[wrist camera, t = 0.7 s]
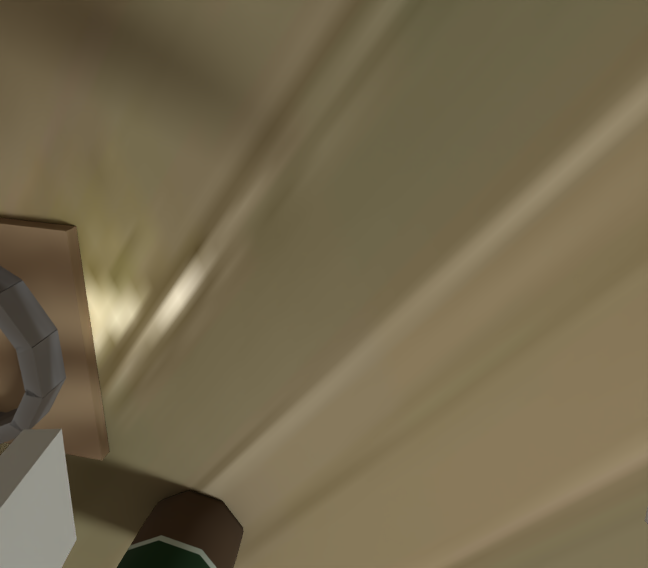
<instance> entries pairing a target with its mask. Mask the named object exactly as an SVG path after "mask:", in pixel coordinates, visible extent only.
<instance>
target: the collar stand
mask: <svg viewBox="0 0 648 568" xmlns="http://www.w3.org/2000/svg"><path fill="white" fill-rule="evenodd" d="M24 429H62V435H63V443H64V450H65V454H69V455H75V456H80V457H86V458H91V459H97V460H103V459H104V458H105V457H106V455H107V454H108V453H109V452H110V451H109V444H108V437H107V431H106V424H105V417H104V411H103V404H102V397H101V390H100V384H99V377H98V370H97V363H96V357H95V350H94V343H93V336H92V330H91V323H90V316H89V310H88V303H87V296H86V289H85V283H84V276H83V269H82V262H81V256H80V249H79V242H78V236H77V229H76V226H69V225H60V224H51V223H42V222H33V221H24V220H16V219H7V218H0V444H1V443H9V444H11V443H12V442H13V441H14V440H15V438H16V437H17V436H18V435H19V434H20V433H21V432H22V431H23V430H24Z"/></svg>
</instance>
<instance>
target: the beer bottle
mask: <svg viewBox="0 0 648 568" xmlns="http://www.w3.org/2000/svg"><path fill="white" fill-rule="evenodd" d="M242 535H243V527H242V526H241V525H240V523H239V522H238V521H237V519H236V518H235V517H234V515H233V514H232V513H231V511H230V510H229V509H228V508H227V506H226V505H225V504H224V502H222V501H219V500H216V499H213V498H210V497H208V496H205V495H202V494H199V493H196V492H193V491H190V490H189V491H186V492H183V493H180V494H177V495H175V496H172V497H169V498H166V499H163V500H161V501H160V502H158V504H157V505H156V506H155V508H154V509H153V511H152V512H151V514H150V515H149V516H148V518H147V519H146V521H145V522H144V524H143V526H142V527H141V529H140V531H139V532H138V534H137V536H136V537H135V539H134V540H133V542H132V544H131V545H130V547H129V549H128V550H127V552H126V553H125V555H124V557H123V558H122V560H121V562H120V563H119V565H118V566H117V568H233V567H234V564H235V561H236V558H237V554H238V550H239V547H240V543H241V539H242Z"/></svg>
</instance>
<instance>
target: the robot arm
mask: <svg viewBox="0 0 648 568" xmlns="http://www.w3.org/2000/svg"><path fill="white" fill-rule="evenodd" d="M645 522H646V523H647V524H648V508H647V512H646V517H645ZM75 541H76V532H75V525H74V517H73V510H72V502H71V495H70V487H69V480H68V472H67V465H66V458H65V450H64V443H63V435H62V429H24V430H23V431H22V432H21V433H20V434H19V435H18V436H17V437H16V438H15V440H14V441H13V442H12V443H11V444H10V445H9V446H8V447H7V448H6V450H5V451H4V452H3V453H2V454H1V455H0V568H62V566H63V564H64V562H65V560H66V558H67V556H68V554H69V553H70V551H71V549H72V547H73V545H74V543H75Z"/></svg>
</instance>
